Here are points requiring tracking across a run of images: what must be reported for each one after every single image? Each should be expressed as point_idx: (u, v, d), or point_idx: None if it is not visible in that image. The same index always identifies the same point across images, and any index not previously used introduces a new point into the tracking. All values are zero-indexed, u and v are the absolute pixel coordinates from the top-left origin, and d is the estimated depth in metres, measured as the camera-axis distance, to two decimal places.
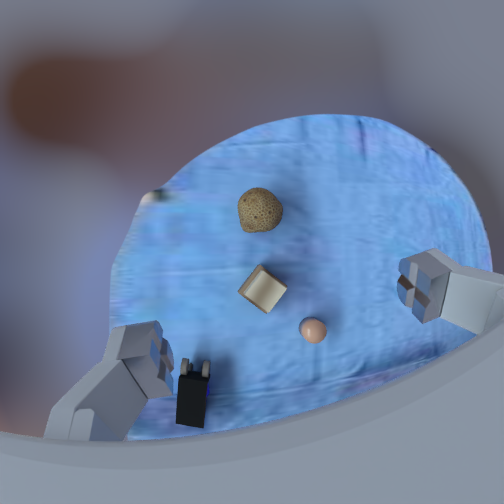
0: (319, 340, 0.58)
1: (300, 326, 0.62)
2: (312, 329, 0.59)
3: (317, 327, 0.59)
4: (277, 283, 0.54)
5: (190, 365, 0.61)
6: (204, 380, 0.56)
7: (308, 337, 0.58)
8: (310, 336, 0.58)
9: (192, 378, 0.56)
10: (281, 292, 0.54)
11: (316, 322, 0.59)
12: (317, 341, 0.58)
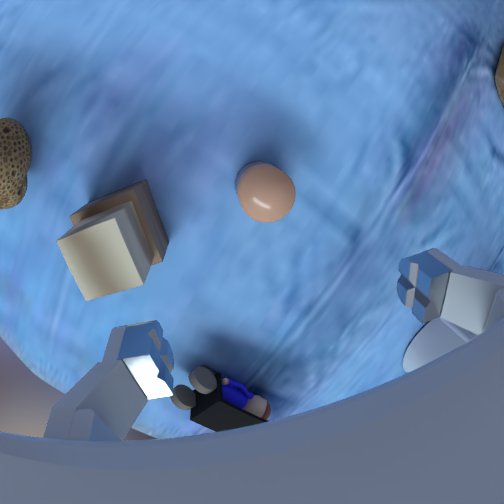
0: (291, 199, 0.25)
1: None
2: (257, 197, 0.25)
3: (261, 184, 0.24)
4: (93, 230, 0.19)
5: None
6: (215, 399, 0.33)
7: (267, 215, 0.25)
8: (268, 211, 0.25)
9: (202, 407, 0.33)
10: (115, 233, 0.19)
11: (249, 179, 0.24)
12: (289, 203, 0.25)
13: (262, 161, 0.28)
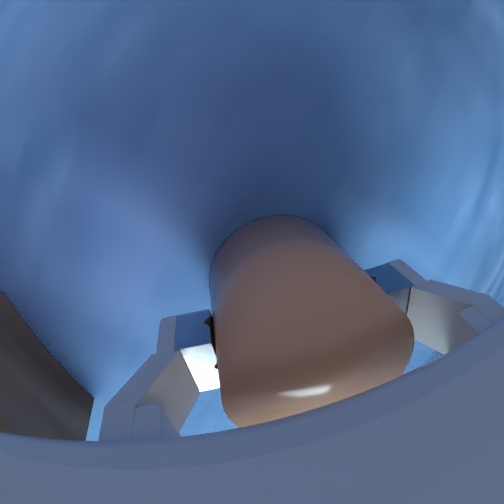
0: (396, 370, 0.07)
1: None
2: (288, 398, 0.06)
3: (305, 365, 0.06)
4: None
5: None
6: None
7: None
8: None
9: None
10: None
11: (255, 360, 0.05)
12: (388, 381, 0.07)
13: (283, 216, 0.09)
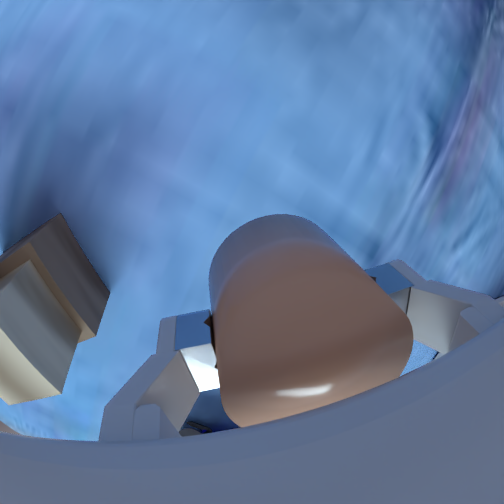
0: (395, 369, 0.07)
1: None
2: (288, 397, 0.06)
3: (304, 364, 0.06)
4: None
5: None
6: None
7: None
8: None
9: None
10: None
11: (254, 358, 0.05)
12: (388, 380, 0.07)
13: (283, 215, 0.10)
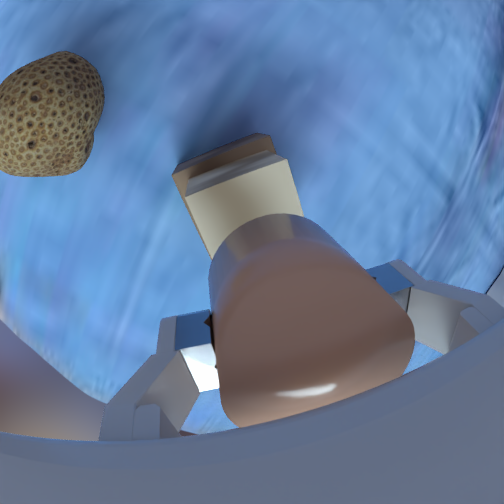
0: (396, 370, 0.07)
1: None
2: (288, 398, 0.06)
3: (305, 364, 0.06)
4: (251, 177, 0.15)
5: None
6: None
7: None
8: None
9: None
10: (286, 181, 0.15)
11: (254, 359, 0.05)
12: (389, 380, 0.07)
13: (283, 215, 0.09)
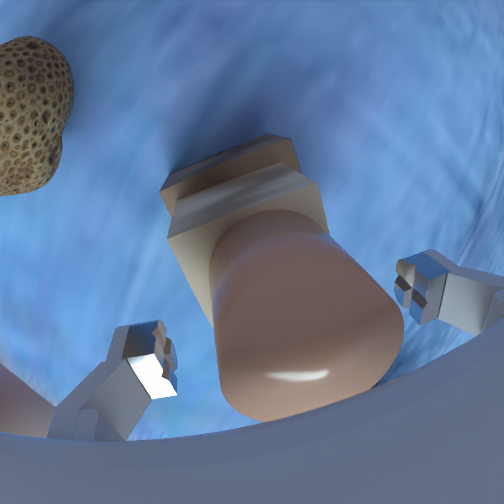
0: (387, 357, 0.07)
1: None
2: (283, 382, 0.07)
3: (298, 348, 0.06)
4: (265, 209, 0.10)
5: None
6: None
7: None
8: (318, 401, 0.07)
9: None
10: (314, 214, 0.10)
11: (251, 342, 0.06)
12: (380, 367, 0.07)
13: (280, 211, 0.10)
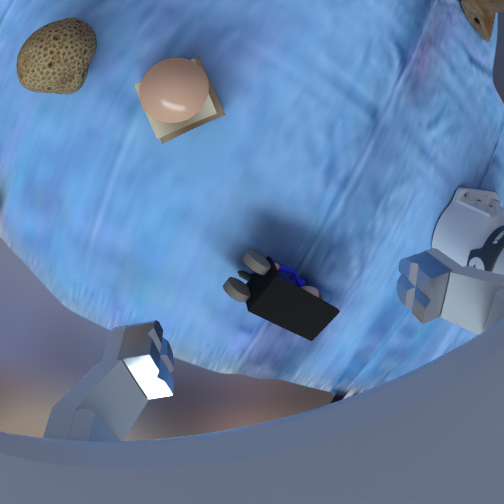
0: (203, 90, 0.18)
1: None
2: (160, 93, 0.17)
3: (164, 78, 0.17)
4: None
5: (241, 274, 0.41)
6: (272, 277, 0.36)
7: (175, 114, 0.18)
8: (176, 109, 0.18)
9: (260, 291, 0.37)
10: None
11: (149, 75, 0.16)
12: (202, 95, 0.18)
13: None
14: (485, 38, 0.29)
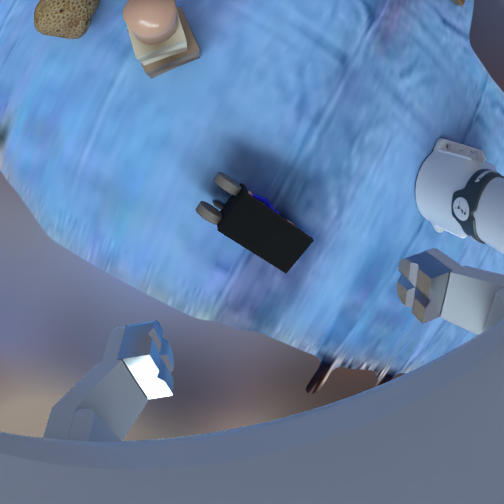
0: (170, 9, 0.18)
1: None
2: (138, 10, 0.18)
3: (144, 0, 0.17)
4: None
5: (216, 204, 0.42)
6: (241, 195, 0.36)
7: (145, 23, 0.18)
8: (147, 20, 0.18)
9: (229, 211, 0.37)
10: None
11: None
12: (168, 12, 0.18)
13: None
14: (458, 3, 0.29)
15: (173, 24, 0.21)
